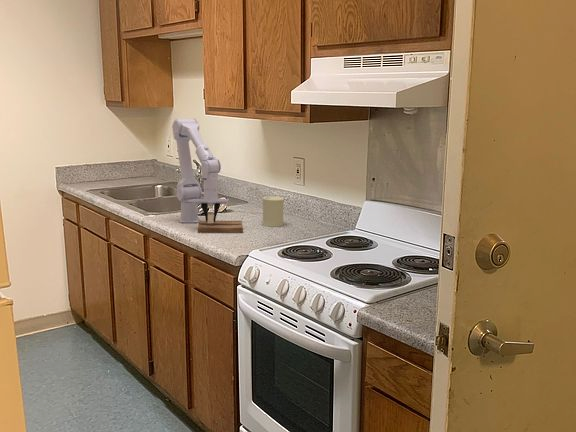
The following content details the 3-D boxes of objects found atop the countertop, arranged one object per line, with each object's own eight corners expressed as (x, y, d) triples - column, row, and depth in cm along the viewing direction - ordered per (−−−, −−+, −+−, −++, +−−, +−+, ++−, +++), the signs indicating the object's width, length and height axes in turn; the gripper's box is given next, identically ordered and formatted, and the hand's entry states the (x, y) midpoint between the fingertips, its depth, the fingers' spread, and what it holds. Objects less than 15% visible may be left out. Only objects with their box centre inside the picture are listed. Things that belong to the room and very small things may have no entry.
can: (259, 222, 261) (259, 195, 258) (279, 221, 264) (279, 195, 262) (266, 227, 252) (266, 199, 250) (286, 226, 256) (287, 198, 253)
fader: (207, 221, 248) (207, 212, 247) (213, 222, 248) (213, 212, 248) (207, 224, 243) (207, 214, 243) (213, 224, 244) (213, 214, 243)
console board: (199, 225, 253) (199, 220, 252) (241, 225, 255) (241, 220, 254) (197, 232, 239) (197, 227, 239) (242, 232, 241) (242, 227, 241)
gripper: (192, 190, 238) (192, 223, 241) (228, 190, 240) (228, 223, 243) (193, 187, 245) (193, 219, 248) (228, 187, 247) (228, 219, 249)
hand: (210, 221), depth 246 cm, fingers closed on fader, 2 cm apart
